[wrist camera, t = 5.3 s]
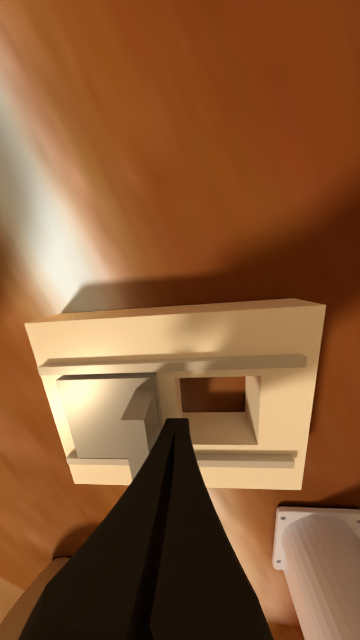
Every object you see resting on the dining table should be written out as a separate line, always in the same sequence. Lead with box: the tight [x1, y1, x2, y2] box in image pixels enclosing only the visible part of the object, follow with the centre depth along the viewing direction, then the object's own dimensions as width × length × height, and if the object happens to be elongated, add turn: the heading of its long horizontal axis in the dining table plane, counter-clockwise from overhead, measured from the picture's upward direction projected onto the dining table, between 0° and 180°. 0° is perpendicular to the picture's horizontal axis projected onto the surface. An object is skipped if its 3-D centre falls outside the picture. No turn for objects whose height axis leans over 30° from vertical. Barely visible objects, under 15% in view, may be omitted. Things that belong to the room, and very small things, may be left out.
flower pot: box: [0, 557, 70, 640], centre depth 19 cm, size 10×10×7 cm
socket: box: [24, 298, 326, 490], centre depth 13 cm, size 14×18×4 cm
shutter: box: [55, 372, 163, 481], centre depth 10 cm, size 6×6×3 cm
